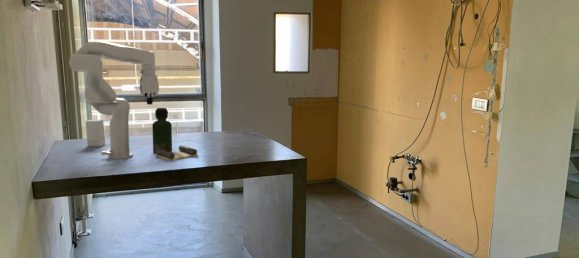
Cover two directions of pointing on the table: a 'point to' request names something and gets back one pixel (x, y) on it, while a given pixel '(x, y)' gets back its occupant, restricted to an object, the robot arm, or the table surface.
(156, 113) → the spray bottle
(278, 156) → the table surface
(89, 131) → the skincare box
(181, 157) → the cradle
